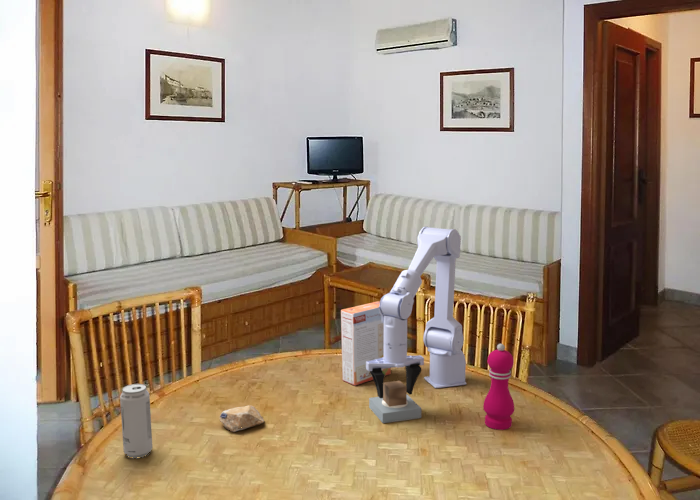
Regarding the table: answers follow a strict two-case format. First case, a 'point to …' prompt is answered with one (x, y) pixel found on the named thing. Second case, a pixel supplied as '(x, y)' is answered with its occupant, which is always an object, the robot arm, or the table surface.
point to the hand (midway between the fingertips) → (394, 394)
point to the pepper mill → (499, 390)
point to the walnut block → (394, 393)
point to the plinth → (394, 410)
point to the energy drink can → (136, 420)
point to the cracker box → (361, 342)
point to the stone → (241, 418)
